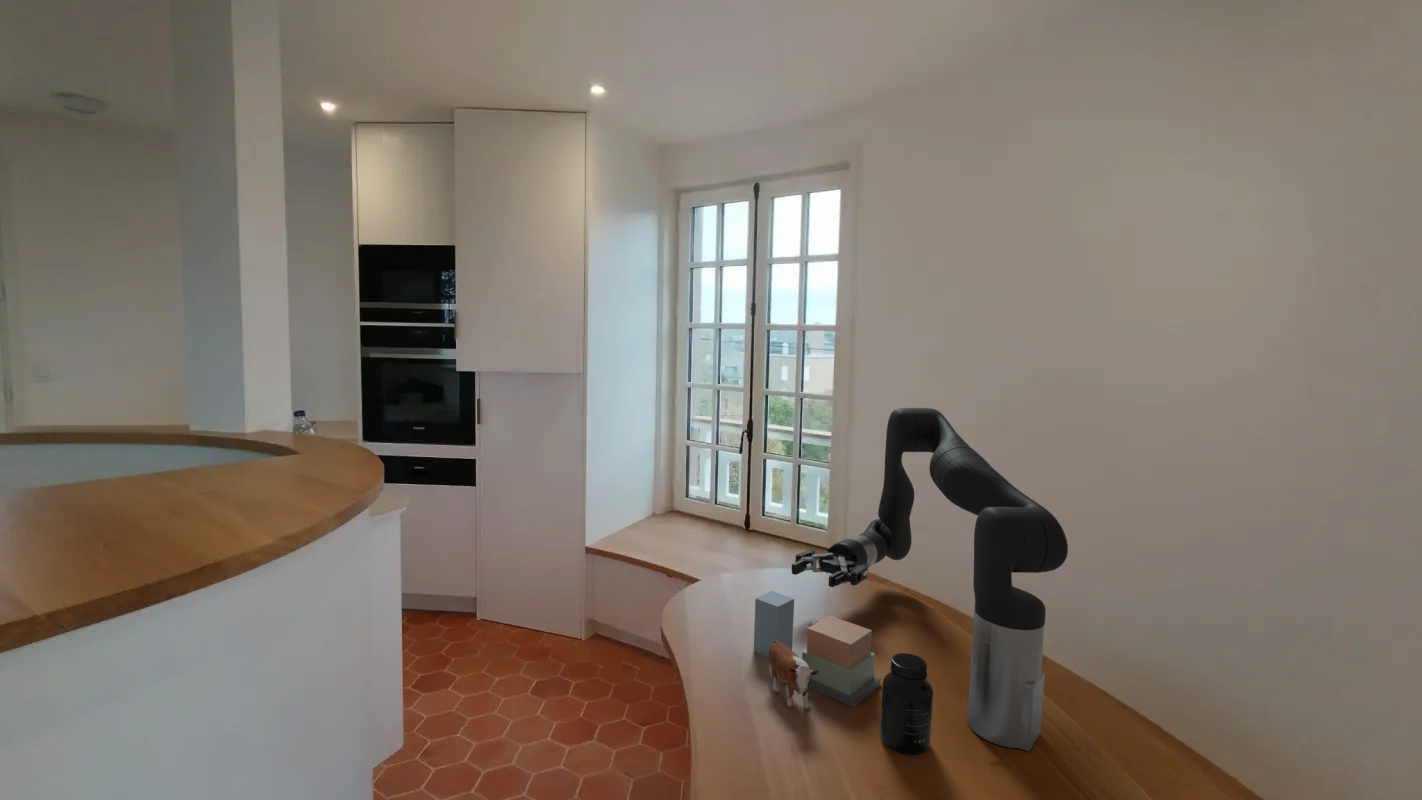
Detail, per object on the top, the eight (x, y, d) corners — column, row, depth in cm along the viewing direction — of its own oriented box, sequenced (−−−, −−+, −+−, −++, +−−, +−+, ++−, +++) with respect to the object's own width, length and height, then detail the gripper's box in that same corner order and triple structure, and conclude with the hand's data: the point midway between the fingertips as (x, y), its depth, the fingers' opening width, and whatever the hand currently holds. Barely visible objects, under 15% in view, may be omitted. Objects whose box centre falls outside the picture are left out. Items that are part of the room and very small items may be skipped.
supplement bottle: (870, 731, 90) (874, 651, 89) (910, 724, 92) (915, 646, 91) (897, 761, 83) (902, 676, 82) (940, 753, 85) (945, 669, 84)
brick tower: (880, 685, 102) (883, 631, 102) (853, 707, 96) (856, 650, 95) (823, 661, 110) (825, 611, 109) (794, 680, 103) (796, 627, 102)
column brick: (791, 651, 113) (794, 598, 112) (775, 661, 109) (778, 606, 109) (769, 642, 116) (772, 590, 116) (753, 651, 113) (755, 598, 112)
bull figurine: (795, 727, 90) (797, 673, 90) (763, 679, 103) (765, 632, 103) (822, 723, 91) (825, 670, 91) (787, 676, 104) (789, 629, 104)
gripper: (825, 531, 138) (782, 548, 126) (884, 547, 128) (844, 567, 116) (823, 564, 138) (780, 583, 126) (882, 582, 129) (842, 605, 117)
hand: (811, 575), depth 121 cm, fingers open, 8 cm apart
